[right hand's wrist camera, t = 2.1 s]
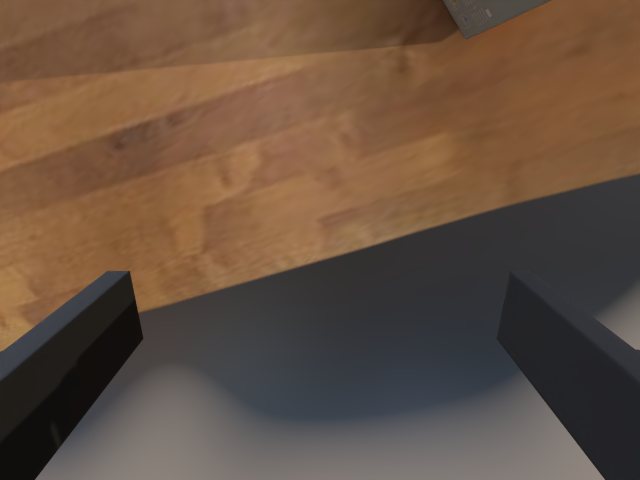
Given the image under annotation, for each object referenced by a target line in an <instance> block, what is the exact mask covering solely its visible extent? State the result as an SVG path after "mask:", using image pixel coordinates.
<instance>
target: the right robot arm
mask: <svg viewBox="0 0 640 480" xmlns="http://www.w3.org/2000/svg"><path fill="white" fill-rule="evenodd" d="M142 340H143V335H142V330H141V325H140V320H139V315H138V310H137V305H136V300H135V295H134V290H133V285H132V280H131V275H130V271H107V272H106V273H104V274H103V275H102V276H100V277H99V278H98V279H96V280H95V281H94V282H93V283H91V284H90V285H89V286H87V287H86V288H85V289H83V290H82V291H81V292H79V293H78V294H77V295H76V296H74V297H73V298H72V299H70V300H69V301H68V302H66V303H65V304H64V305H62V306H61V307H60V308H59V309H57V310H56V311H55V312H53V313H52V314H51V315H49V316H48V317H47V318H45V319H44V320H43V321H42V322H40V323H39V324H38V325H36V326H35V327H34V328H32V329H31V330H30V331H28V332H27V333H26V334H25V335H23V336H22V337H21V338H19V339H18V340H17V341H15V342H14V343H13V344H11V345H10V346H9V347H8V348H6V349H5V350H4V351H1V352H0V480H35V479H36V477H37V476H38V475H39V474H40V472H41V471H42V470H43V468H44V467H45V466H46V464H47V463H48V462H49V461H50V459H51V458H52V457H53V455H54V454H55V453H56V451H57V450H58V449H59V448H60V446H61V445H62V444H63V442H64V441H65V440H66V438H67V437H68V436H69V435H70V433H71V432H72V431H73V429H74V428H75V427H76V425H77V424H78V423H79V422H80V420H81V419H82V418H83V416H84V415H85V414H86V412H87V411H88V410H89V409H90V407H91V406H92V405H93V403H94V402H95V401H96V399H97V398H98V397H99V396H100V394H101V393H102V392H103V390H104V389H105V388H106V386H107V385H108V384H109V382H110V381H111V380H112V379H113V377H114V376H115V375H116V373H117V372H118V371H119V370H120V368H121V367H122V366H123V364H124V363H125V362H126V360H127V359H128V358H129V357H130V355H131V354H132V353H133V351H134V350H135V349H136V347H137V346H138V345H139V343H140V342H141V341H142ZM497 340H498V341H499V342H500V343H501V345H502V346H503V347H504V349H505V350H506V351H507V353H508V354H509V355H510V356H511V358H512V359H513V360H514V362H515V363H516V364H517V366H518V367H519V368H520V370H521V371H522V372H523V373H524V375H525V376H526V377H527V379H528V380H529V381H530V382H531V384H532V385H533V386H534V388H535V389H536V390H537V392H538V393H539V394H540V396H541V397H542V398H543V399H544V401H545V402H546V403H547V405H548V406H549V407H550V409H551V410H552V411H553V412H554V414H555V415H556V416H557V418H558V419H559V420H560V422H561V423H562V424H563V425H564V427H565V428H566V429H567V431H568V432H569V433H570V435H571V436H572V437H573V438H574V440H575V441H576V442H577V444H578V445H579V446H580V448H581V449H582V450H583V451H584V453H585V454H586V455H587V457H588V458H589V459H590V461H591V462H592V463H593V464H594V466H595V467H596V468H597V470H598V471H599V472H600V474H601V475H602V476H603V477H604V479H605V480H640V350H635V349H634V348H632V347H631V346H630V345H629V344H627V343H626V342H625V341H623V340H622V339H621V338H619V337H618V336H617V335H615V334H614V333H613V332H612V331H610V330H609V329H608V328H606V327H605V326H604V325H602V324H601V323H600V322H598V321H597V320H596V319H595V318H593V317H592V316H591V315H589V314H588V313H587V312H585V311H584V310H583V309H581V308H580V307H579V306H578V305H576V304H575V303H573V302H572V301H571V300H570V299H568V298H567V297H566V296H564V295H563V294H562V293H561V292H559V291H558V290H557V289H555V288H554V287H553V286H551V285H550V284H549V283H547V282H546V281H545V280H543V279H542V278H541V277H540V276H538V275H537V274H536V273H534V272H533V271H510V275H509V280H508V285H507V290H506V295H505V300H504V305H503V310H502V315H501V320H500V325H499V330H498V335H497Z"/></svg>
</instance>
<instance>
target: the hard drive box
mask: <svg viewBox="0 0 640 480" xmlns="http://www.w3.org/2000/svg"><path fill="white" fill-rule="evenodd" d="M549 1H551V0H443V2H444V4H445V5H446V7H447V9H448V10H449V12H450V14H451V16H452V17H453V19H454V21H455V22H456V24H457V26H458V27H459V29H460V31H461V32H462V34H463V36H464V37H465V39H468V38H470V37H473V36H475V35H477V34H479V33H482V32H484V31H486V30H488V29H491V28H493V27H495V26H497V25H499V24H501V23H503V22H506V21H508V20H510V19H512V18H514V17H516V16H518V15H521V14H523V13H525V12H527V11H529V10H531V9H534V8H536V7H538V6H540V5H542V4H544V3H546V2H549Z"/></svg>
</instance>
